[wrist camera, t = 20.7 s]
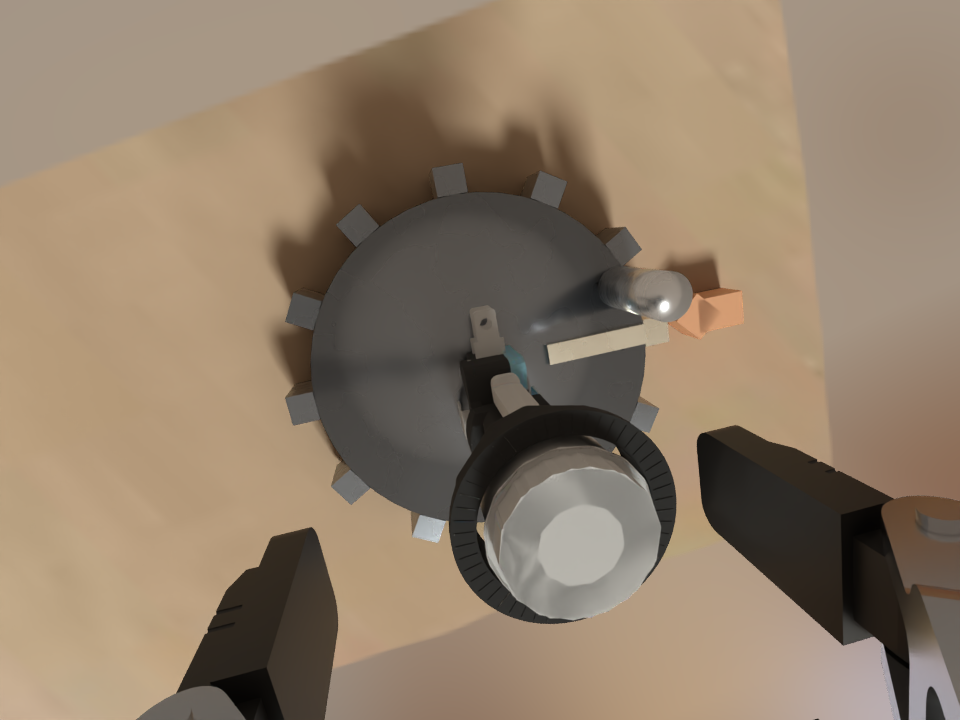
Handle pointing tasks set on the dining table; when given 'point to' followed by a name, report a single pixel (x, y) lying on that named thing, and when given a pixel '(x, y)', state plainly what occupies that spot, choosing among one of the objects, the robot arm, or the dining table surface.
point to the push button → (551, 495)
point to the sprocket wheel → (470, 331)
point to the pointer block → (711, 312)
